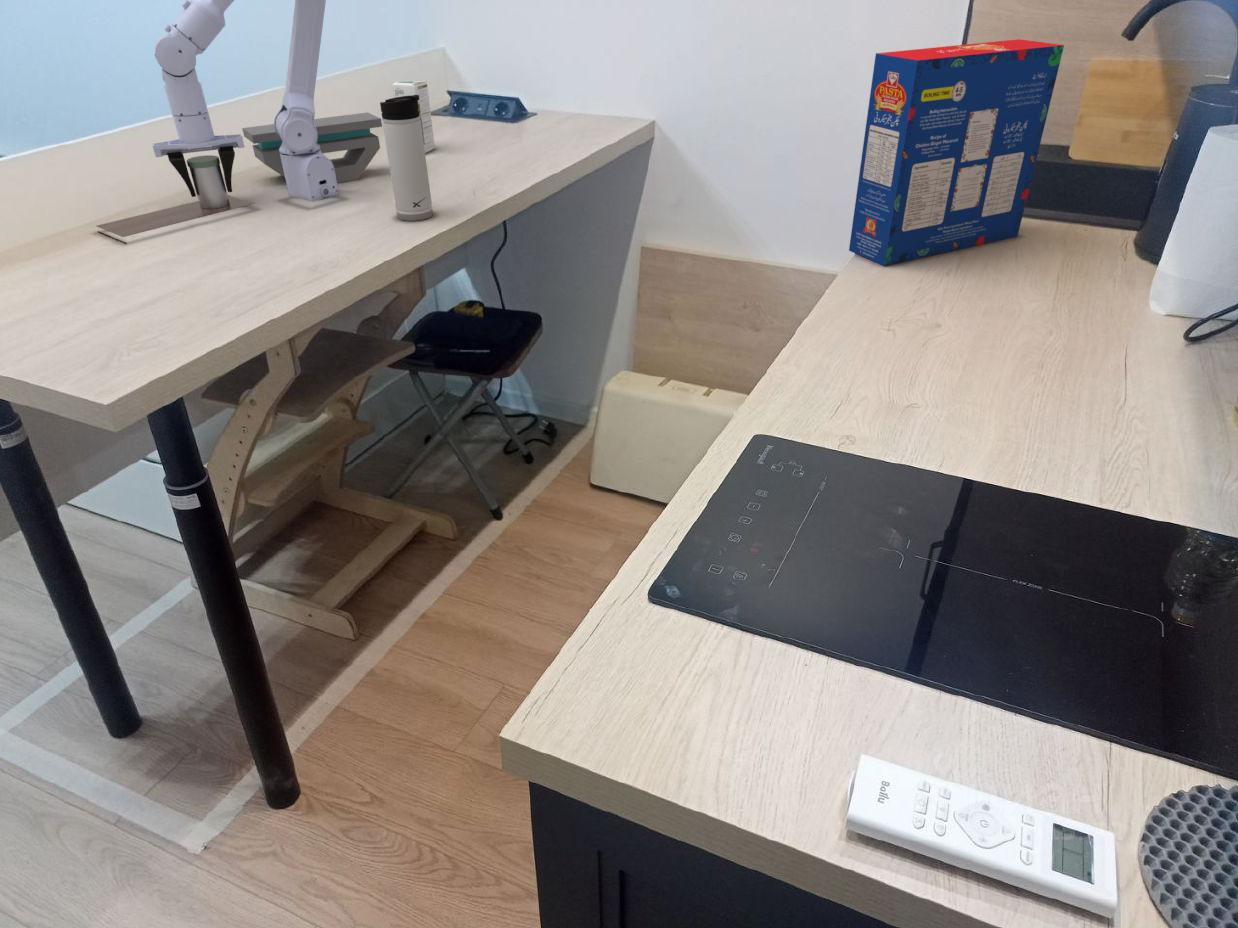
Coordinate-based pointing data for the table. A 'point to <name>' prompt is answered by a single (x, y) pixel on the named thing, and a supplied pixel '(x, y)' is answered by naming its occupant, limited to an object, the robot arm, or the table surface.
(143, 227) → the board
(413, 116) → the travel mug
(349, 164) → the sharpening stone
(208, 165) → the tin
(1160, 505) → the table surface
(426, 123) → the syrup box
